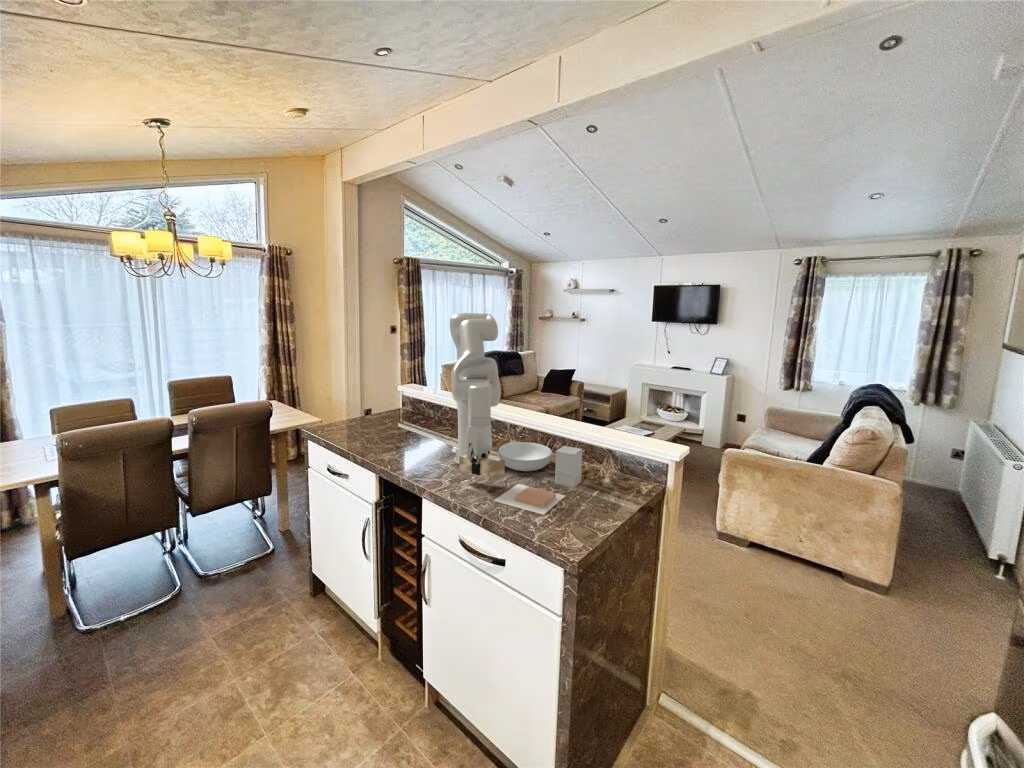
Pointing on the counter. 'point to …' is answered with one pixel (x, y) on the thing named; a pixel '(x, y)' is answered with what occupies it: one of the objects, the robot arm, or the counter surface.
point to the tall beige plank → (483, 466)
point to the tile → (535, 497)
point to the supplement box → (568, 466)
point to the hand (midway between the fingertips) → (479, 472)
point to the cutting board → (510, 500)
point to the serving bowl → (525, 456)
